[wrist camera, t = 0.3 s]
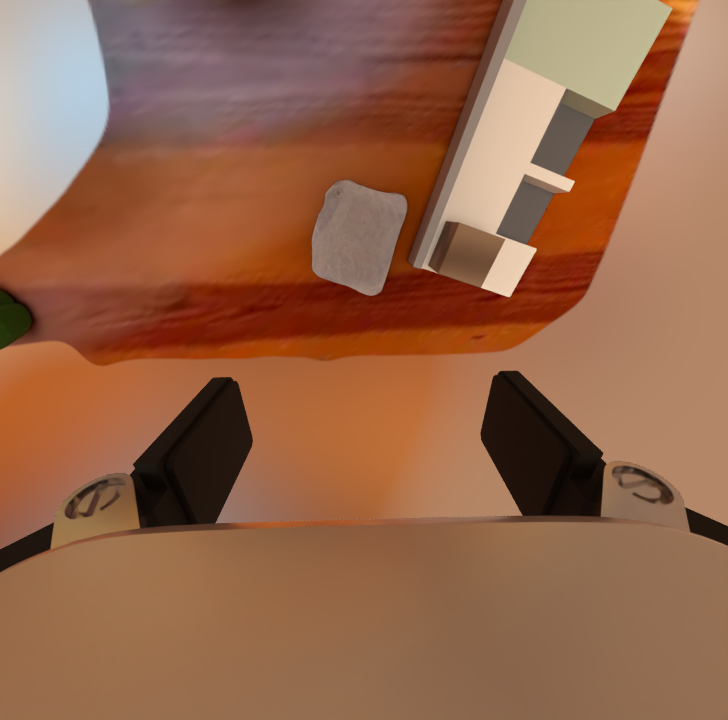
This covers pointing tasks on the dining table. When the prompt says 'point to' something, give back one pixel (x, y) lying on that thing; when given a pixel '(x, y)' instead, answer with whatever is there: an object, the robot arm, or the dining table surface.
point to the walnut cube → (465, 253)
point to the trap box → (533, 118)
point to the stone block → (357, 235)
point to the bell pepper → (12, 320)
